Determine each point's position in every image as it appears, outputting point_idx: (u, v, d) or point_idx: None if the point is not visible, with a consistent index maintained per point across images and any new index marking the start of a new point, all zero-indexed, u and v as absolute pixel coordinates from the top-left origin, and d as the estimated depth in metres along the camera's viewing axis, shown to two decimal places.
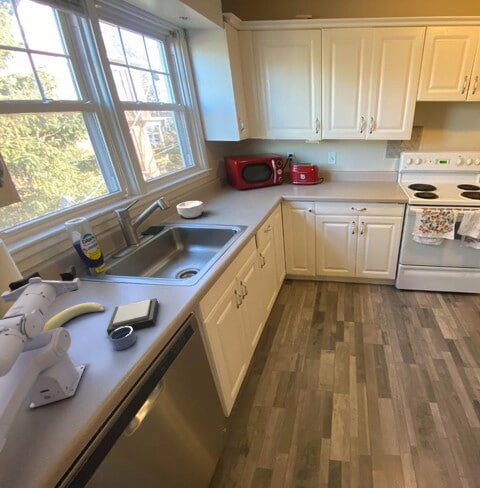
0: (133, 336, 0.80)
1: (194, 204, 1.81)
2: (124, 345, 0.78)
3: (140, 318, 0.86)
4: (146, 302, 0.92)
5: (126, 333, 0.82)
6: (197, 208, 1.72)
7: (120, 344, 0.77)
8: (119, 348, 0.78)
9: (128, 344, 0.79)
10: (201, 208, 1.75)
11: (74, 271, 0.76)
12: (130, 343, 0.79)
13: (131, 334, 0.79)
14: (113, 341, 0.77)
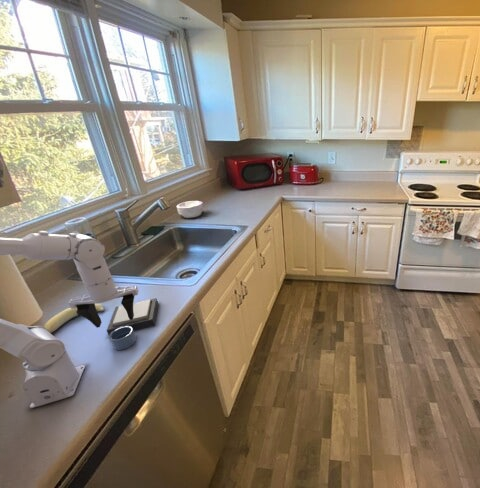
0: (133, 336, 0.80)
1: (194, 204, 1.81)
2: (124, 345, 0.78)
3: (140, 318, 0.86)
4: (146, 302, 0.92)
5: (126, 333, 0.82)
6: (197, 208, 1.72)
7: (120, 344, 0.77)
8: (119, 348, 0.78)
9: (128, 344, 0.79)
10: (201, 208, 1.75)
11: (132, 314, 0.78)
12: (130, 343, 0.79)
13: (131, 334, 0.79)
14: (113, 341, 0.77)
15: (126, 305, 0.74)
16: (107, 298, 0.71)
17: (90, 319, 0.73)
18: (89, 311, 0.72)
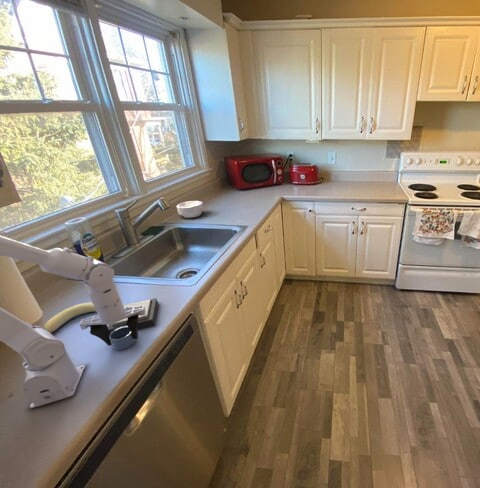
0: None
1: (194, 204, 1.81)
2: (124, 345, 0.78)
3: (140, 318, 0.86)
4: (146, 302, 0.92)
5: (126, 333, 0.82)
6: (197, 208, 1.72)
7: (120, 344, 0.77)
8: (119, 348, 0.78)
9: (128, 344, 0.79)
10: (201, 208, 1.75)
11: (136, 333, 0.81)
12: (130, 343, 0.79)
13: (131, 334, 0.79)
14: (113, 341, 0.77)
15: (130, 326, 0.77)
16: (116, 319, 0.74)
17: (102, 338, 0.76)
18: (102, 330, 0.75)
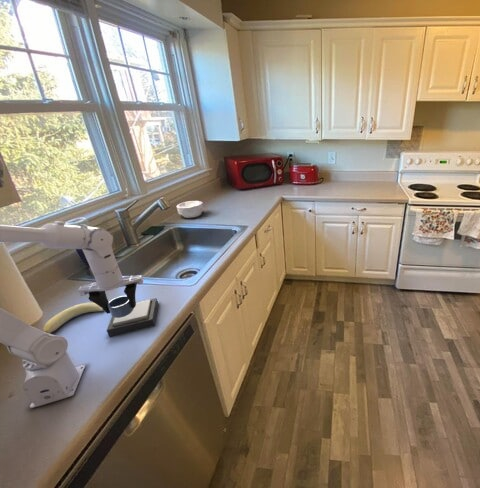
0: None
1: (194, 204, 1.81)
2: (122, 313, 0.80)
3: (140, 318, 0.86)
4: (146, 302, 0.92)
5: (124, 302, 0.83)
6: (197, 208, 1.72)
7: (118, 312, 0.79)
8: (117, 316, 0.79)
9: (126, 312, 0.80)
10: (201, 208, 1.75)
11: (134, 302, 0.82)
12: (128, 311, 0.81)
13: (129, 303, 0.81)
14: (111, 308, 0.78)
15: (128, 294, 0.79)
16: (114, 286, 0.76)
17: (101, 305, 0.78)
18: (100, 297, 0.77)
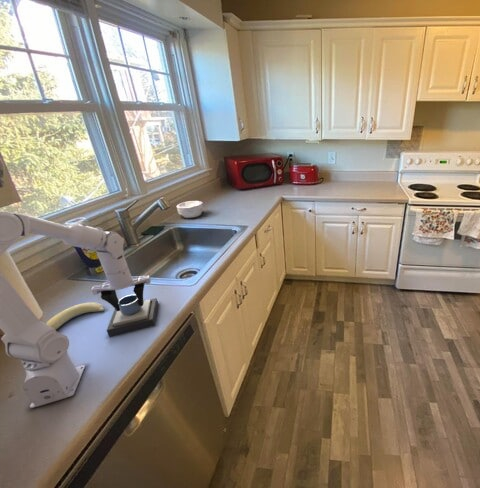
0: None
1: (194, 204, 1.81)
2: (131, 310, 0.86)
3: (140, 318, 0.86)
4: (146, 302, 0.92)
5: (133, 301, 0.89)
6: (197, 208, 1.72)
7: (127, 309, 0.85)
8: (126, 313, 0.86)
9: (135, 310, 0.87)
10: (201, 208, 1.75)
11: (142, 301, 0.88)
12: (136, 309, 0.87)
13: (137, 301, 0.87)
14: (121, 306, 0.84)
15: (137, 293, 0.85)
16: (124, 285, 0.82)
17: (112, 303, 0.84)
18: (111, 296, 0.83)
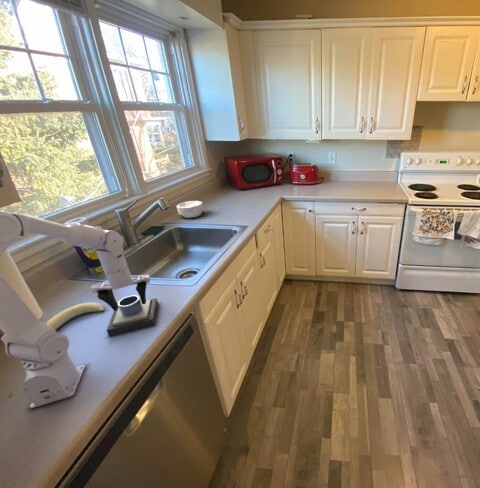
0: (139, 304, 0.88)
1: (194, 204, 1.81)
2: (131, 311, 0.86)
3: (140, 318, 0.86)
4: (146, 302, 0.92)
5: (133, 302, 0.90)
6: (197, 208, 1.72)
7: (128, 310, 0.85)
8: (127, 314, 0.86)
9: (135, 311, 0.87)
10: (201, 208, 1.75)
11: (144, 299, 0.89)
12: (137, 310, 0.87)
13: (138, 302, 0.87)
14: (122, 307, 0.85)
15: (140, 291, 0.85)
16: (124, 284, 0.82)
17: (109, 303, 0.83)
18: (108, 295, 0.82)
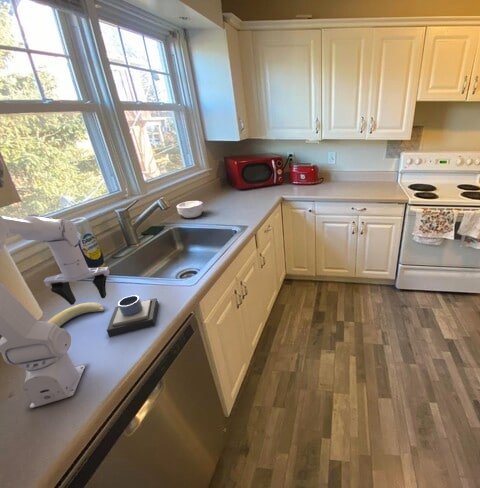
0: (139, 304, 0.88)
1: (194, 204, 1.81)
2: (131, 311, 0.86)
3: (140, 318, 0.86)
4: (146, 302, 0.92)
5: (133, 302, 0.90)
6: (197, 208, 1.72)
7: (128, 310, 0.85)
8: (127, 314, 0.86)
9: (135, 311, 0.87)
10: (201, 208, 1.75)
11: (104, 293, 0.85)
12: (137, 310, 0.87)
13: (138, 302, 0.87)
14: (122, 307, 0.85)
15: (97, 284, 0.81)
16: (79, 277, 0.78)
17: (64, 296, 0.80)
18: (63, 288, 0.79)
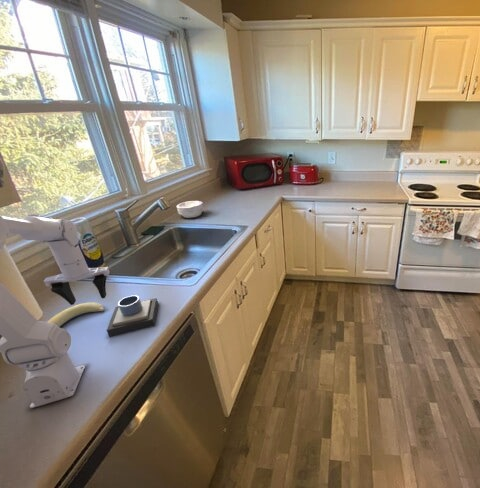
0: (139, 304, 0.88)
1: (194, 204, 1.81)
2: (131, 311, 0.86)
3: (140, 318, 0.86)
4: (146, 302, 0.92)
5: (133, 302, 0.90)
6: (197, 208, 1.72)
7: (128, 310, 0.85)
8: (127, 314, 0.86)
9: (135, 311, 0.87)
10: (201, 208, 1.75)
11: (104, 293, 0.85)
12: (137, 310, 0.87)
13: (138, 302, 0.87)
14: (122, 307, 0.85)
15: (97, 284, 0.81)
16: (79, 277, 0.78)
17: (64, 296, 0.80)
18: (63, 288, 0.79)
